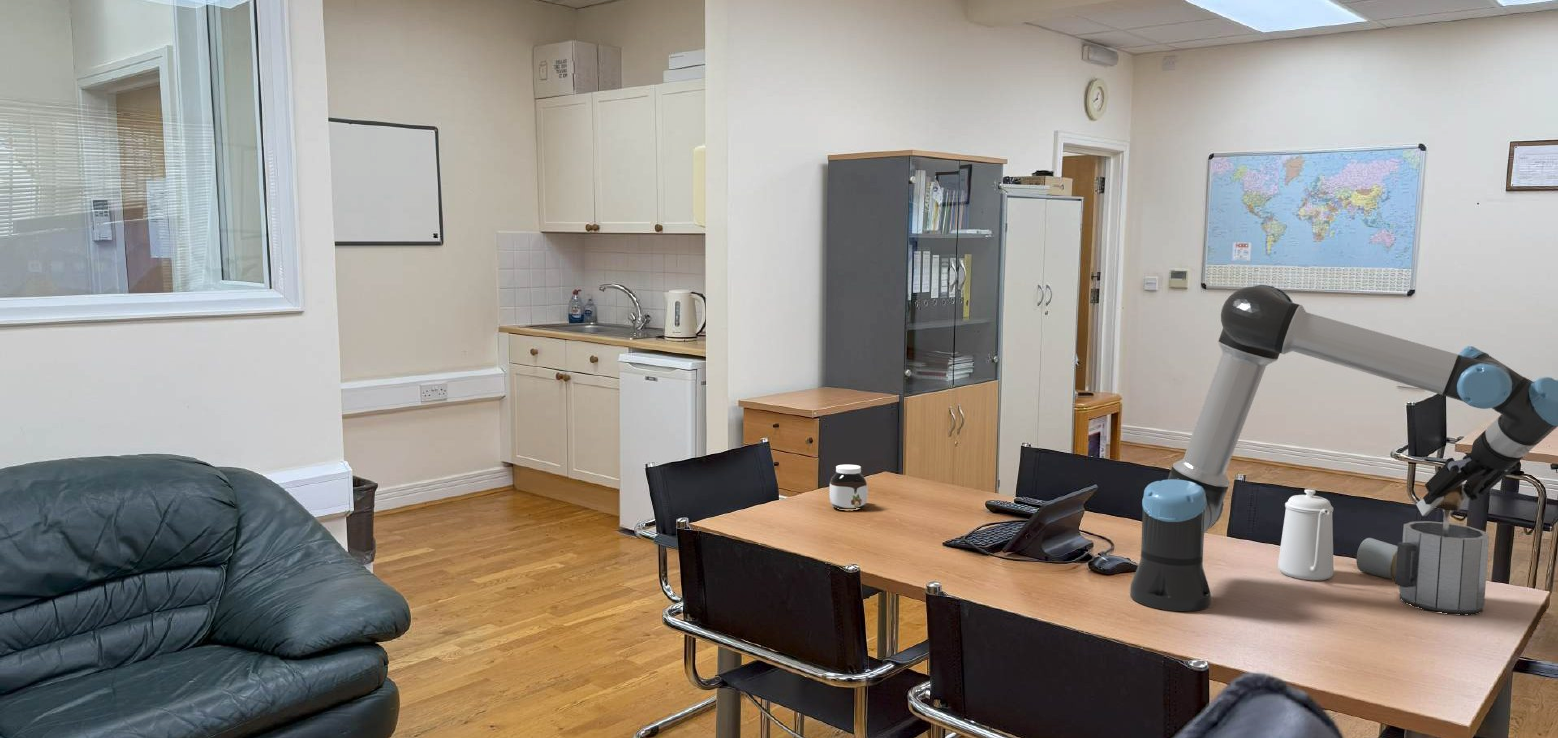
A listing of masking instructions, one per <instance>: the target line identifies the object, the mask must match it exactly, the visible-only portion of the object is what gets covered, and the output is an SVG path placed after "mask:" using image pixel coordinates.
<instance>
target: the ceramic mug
mask: <svg viewBox="0 0 1558 738" xmlns="http://www.w3.org/2000/svg"><path fill="white" fill-rule="evenodd" d="M1397 548H1398V545H1395V544H1391V543H1388V542H1385V541H1381V540H1378V539H1375V538H1373V537H1367V538H1365V539H1363V540H1362V542H1361V543H1360V545H1359V547H1358V549H1357V552H1356V567H1357V568H1358V570H1359V571H1360V572H1361V573H1365V574H1369V575H1373V576H1377V577H1382V578H1384V579H1385V578H1386V579H1388V578H1389V579H1388V580H1395V578H1396V563H1397Z"/></svg>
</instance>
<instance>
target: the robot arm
mask: <svg viewBox="0 0 1558 738" xmlns="http://www.w3.org/2000/svg"><path fill="white" fill-rule="evenodd" d="M1220 322H1221V325H1222V330H1221V333H1220V335H1219V338H1218V341H1217V343H1218V345H1219V346H1220V349H1221V350H1222V351H1221V352H1222V353H1221V356H1220V359H1219V361H1218V364H1217V366H1216V368H1215V369H1216V370H1215V373H1214V375H1213V376H1212V377H1213V378H1212V380H1211V383H1210V386H1209V389H1208V391H1207V394H1206V397H1205V399H1204V402H1203V405H1202V407H1201V410H1200V413H1199V415H1198V418H1197V421H1196V423H1195V426H1194V429H1193V432H1192V435H1191V437H1190V440H1189V443H1188V445H1187V448H1186V451H1185V453H1184V456H1183V458H1182V459H1180V460H1178V461H1175V462H1174V463H1173V464H1172V466H1171V469H1170V471H1169V474H1168V477H1167V479H1162V480H1156V481H1153V482H1151V483H1149V484H1147V486H1146V487H1145V488H1144V490H1143V498H1142V500H1141V501H1142V502H1141V504H1142V505H1141V506H1142V519H1141V520H1142V522H1141V523H1142V524H1141V547H1140V549H1141V551H1140V560H1139V562H1138V566H1137V567H1136V570H1135V573H1134V574H1133V575H1134V576H1133V577H1132V581H1131V583H1130V592H1129V594H1130V598H1131V599H1132V600H1133V601H1135V602H1136V603H1138V604H1141V605H1143V606H1146V607H1149V608H1155V609H1159V610H1164V611H1171V612H1194V611H1201V610H1205V609H1207V608H1209V607H1210V606H1211V596H1212V595H1211V589H1210V586H1209V583H1208V579H1207V576H1206V573H1205V570H1204V565H1203V561H1204V542H1205V541H1204V540H1205V533H1206V532H1207V531H1208V530H1209V529H1211V528H1213V526H1215V525H1216V524H1217V522H1218V521H1219V520H1220V518H1221V516H1222V514H1223V510H1224V500H1225V497H1226V495H1227V492H1228V490H1229V486H1230V480H1229V479H1228V477H1227V474H1226V473H1227V470H1228V468H1229V465H1230V463H1231V459H1232V457H1233V454H1234V451H1235V449H1236V446H1237V444H1238V441H1239V438H1240V436H1241V433H1242V430H1243V427H1244V425H1245V423H1246V420H1247V418H1248V415H1249V413H1250V409H1251V407H1252V404H1253V401H1254V400H1255V397H1256V394H1257V391H1258V388H1259V386H1260V383H1261V380H1262V378H1263V376H1264V373H1265V370H1266V367H1267V366H1268V365H1270V364H1273V363H1274V362H1276V361H1278V359H1279V356H1280V354H1281V355H1286V354H1288V353H1290V352H1295V353H1297V354H1301V355H1305V356H1308V357H1311V358H1315V359H1319V360H1322V361H1326V362H1329V363H1332V364H1334V365H1335V364H1336V365H1339V366H1343V367H1345V368H1350V369H1352V370H1355V371H1358V372H1361V373H1367V374H1369V375H1373V376H1376V377H1379V378H1384V379H1387V380H1390V381H1394V382H1397V383H1400V384H1404V385H1407V386H1410V387H1413V388H1417V389H1420V390H1425V391H1427V392H1431V393H1435V394H1438V395H1441V396H1445V397H1447V398H1450V399H1453V400H1457V401H1460V402H1464V403H1466V404H1467V405H1468V406H1469V407H1473V408H1476V409H1481V410H1486V409H1487V410H1488V409H1492V410H1494V411H1495V412H1497V413H1499V414H1500V416H1498V417H1497V418H1496V419H1495V420H1493V422H1492V423H1490V425H1488V426H1487V427H1486V429H1485V430H1484V431H1483V432H1482V433H1480V435H1478V436H1477V437H1476V438H1475V439H1474V441H1473V443H1472V446H1471V452H1469V453H1468V454H1466V455H1464V456H1463V457H1462V459H1457V460H1455V459H1454V458H1453V457H1449V458H1447V459H1446V461H1445V463H1444V465H1443V466H1442V467H1441V468H1440V469H1439V470H1438V471H1437V472H1436V473H1435V474H1434V475H1433V476H1432V477H1431V478H1430V479H1428V480H1427V482H1426V483H1425V484H1424V487H1425V489H1426V491H1427V493H1426V494H1424V496H1423V497H1422V499H1420V500H1419V501H1418V502H1417V503H1416V506H1417V508H1418V510H1419V512H1420V514H1421V516H1422V517H1427V516H1428V515H1429V514H1430V513H1431V512H1432V511H1433V510H1434V509H1435V507H1436V506H1437V505H1438V504H1439V503H1440V502H1441V501H1443V500H1444V499H1445V498H1444V495H1445V494H1447V493H1448V492H1450V491H1451V490H1453V489H1454V488H1456V487H1457V486H1458V485H1460V484H1463V483H1464V482H1465V483H1464V484H1463V487H1462V495H1461V505H1462V504H1464V503H1465V502H1466V501H1467V500H1468V499H1469V498H1470V501H1475V500H1477V499H1478V496H1477V494H1479V495H1480V496H1483V495H1485V494H1487V493H1488V492H1489V491H1490V490H1491V489H1493V488H1494V487H1495V486H1496V485H1498V483H1499V482H1501V481H1502V479H1504V478H1505V477H1506V476H1507V475H1509V474H1510V473H1513V472H1514V471H1516V470H1518V466H1517V464H1518V463H1519V462H1520V461H1521V460H1522V459H1523V457H1524V456H1526V455H1528V454H1529V453H1530V451H1532V449H1533V448H1535V447H1536V446H1537V445H1538V444H1539V443H1540V442H1541V441H1543V440H1544V439H1545V438H1546V437H1548V435H1550V434H1551V433H1552V432H1553V431H1554V430H1556V429H1557V428H1558V379H1554V378H1553V377H1548V376H1545V377H1540V378H1538V379H1536V380H1535V381H1532V380H1531V379H1529V378H1527V377H1526V376H1523V375H1521V374H1519V373H1518V372H1516V371H1515V370H1513V369H1511V368H1510V367H1508V366H1507V365H1506V364H1503V363H1502V362H1500V361H1499V360H1497V359H1496V358H1494V357H1493V356H1491V355H1490V354H1489V353H1487V352H1485V351H1482V350H1480V349H1478V348H1477V347H1475V346H1471V345H1469V346H1465V348H1463V349H1462V350H1461V351H1460V352H1459V353H1458V354H1457V353H1454V352H1450V351H1447V350H1444V349H1439V348H1436V347H1433V346H1429V345H1425V344H1421V343H1419V342H1415V341H1412V340H1407V339H1403V338H1402V337H1401V338H1400V337H1396V336H1394V335H1390V334H1389V335H1388V334H1385V333H1382V332H1378V331H1375V330H1372V329H1368V328H1364V327H1360V326H1357V325H1354V324H1350V323H1346V322H1342V321H1339V320H1336V319H1333V318H1328V317H1324V316H1321V315H1317V314H1314V313H1311V312H1307V310H1305V307H1304V306H1303V305H1302V304H1298V303H1295V302H1293V300H1292V299H1291V297H1290V296H1289V295H1288V294H1287V293H1286V292H1284V291H1283V290H1281V288H1277V287H1275V286H1273V285H1266V284H1257V285H1253V286H1247V287H1243V288H1240V289H1238V290H1237V291H1234V292H1232V294H1231V295H1229V296H1228V298H1227V299H1226V300H1225V302H1224V304H1223V306H1222V308H1221V313H1220ZM1441 510H1442V511H1443V512H1444V510H1443V509H1441ZM1453 512H1454V511H1452V510H1450V515H1452V513H1453Z"/></svg>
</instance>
